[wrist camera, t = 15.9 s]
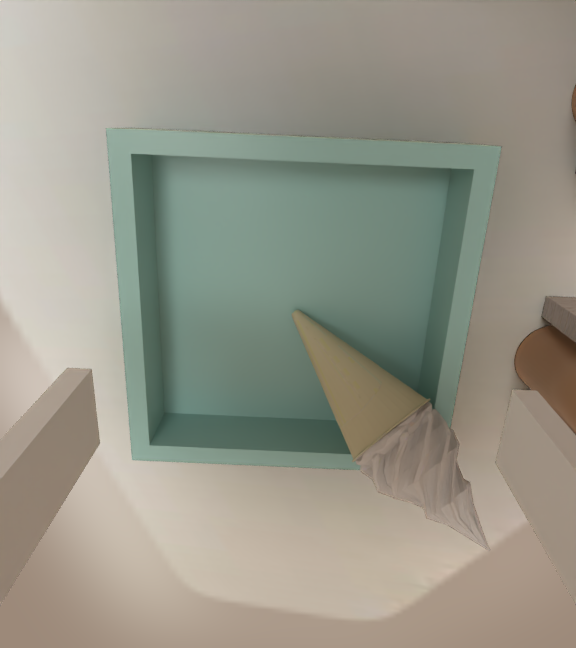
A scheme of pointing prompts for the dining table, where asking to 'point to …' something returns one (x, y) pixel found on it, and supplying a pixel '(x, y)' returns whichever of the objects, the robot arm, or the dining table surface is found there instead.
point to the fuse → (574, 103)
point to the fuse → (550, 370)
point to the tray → (286, 281)
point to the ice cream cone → (392, 431)
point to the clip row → (561, 315)
